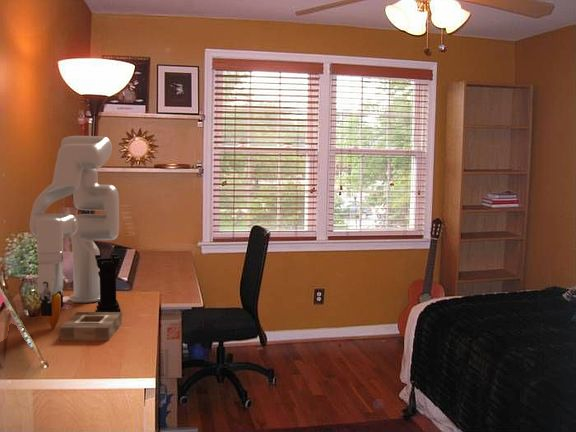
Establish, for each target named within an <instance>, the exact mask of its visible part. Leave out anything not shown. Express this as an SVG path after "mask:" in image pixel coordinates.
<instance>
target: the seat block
mask: <svg viewBox="0 0 576 432" xmlns="http://www.w3.org/2000/svg"><path fill="white" fill-rule="evenodd" d="M121 313H122V311H121V312H95V311H87V312H86V311H76V312H75V314H74V315H72V316H71V317H70V318H69V319H68V320H67V321H66V322H64V323H63V324H62V325H61V326H60V329H59V330H60V333H59V334H60V341H70V342H71V341H72V342H73V341H89V342H90V341H94V342H95V341H103V342H105V341H106V342H107V341H110V340H111V338H112V337H113V336H114V335H115V334H116V332H117V331H118V330H119V329H120V327H121V326H122V325H123V323H122V322H123V321H122V320H123V319H122V317H123V315H122V316H121Z"/></svg>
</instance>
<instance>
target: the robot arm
mask: <svg viewBox="0 0 576 432" xmlns="http://www.w3.org/2000/svg"><path fill="white" fill-rule="evenodd" d="M60 142H61V144H60V146H61V147H59V149H58V151H57V157H56V161H55V162H56V163H55V165H54V166H55V167H54V172H53V177H52V182H51V183H50V185H48V186H47V187H46V188H44V190H43V191H41V192H40V194H38V196H37V197H36V199H35V200H34V201H33V204H32V207H31V214H30V217H29V218H30V219H29V229H30V233H31V234H32V235H33V236H34V237H36V249H37V250H36V251H37V252H36V253H37V263H38V267H37V295H38V296H39V300H40V301H39V302H40V316H42V317H46V316H52V303H51V298H52V295H54V294H56V293H59V294H60V295H61V308H63V307H64V290H63V289H64V272H63V271H64V269H63V263H64V261H65V260H64V259H65V258H64V257H65V254H64V238H70V239H71V249H72V275H73V278H72V280H73V281H72V282H73V283H72V285H73V294H71V295H69V297H68V298H69V301H70V302H72V303H75V304H76V303H77V304H79V303H80V304H89V303H94V302H96V303H98V301H100V277H99V274H98V272H99V271H100V270H99V268H98V266H97V261H96V259H95V255H100V256H101V253H100V252H101V251H100V249H99V247H98V246H97V244H96V243H95V241H114V240H116V239H117V238H118V236H119V232H120V197H119V191H118V189H117V187H115V186H114V185H112V184H99V181H98V179H99V178H98V176H99V174H98V173H99V172H98V169H100V168H102V167H103V166H104V165H105V164H106V163H107V162H108V161H109V159H110V158H111V156H112V153H113V145H112V142H111V140H110V139H109V137H106V136H101V135H96V136H95V135H70V136H66V137H64V138H62V139H61V141H60ZM71 195H72V197H73V206H74V207H75V208H76V209H77V210H80V211H99V212H100V211H102V212H103V211H104V213H103V214H100V213H99V214H98V213H97V214H95V213H79V214H76V215H73V214H70V213H47V212H46V210H47V209H48V208H49V207H50V206H51V205H52V204H54V203H55V202H57V201H59V200H62V199H63V198H64V199H65V198H66V197H70V196H71ZM45 212H46V213H45ZM47 296H49V297H48V298H47Z"/></svg>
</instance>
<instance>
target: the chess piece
mask: <svg viewBox="0 0 576 432" xmlns="http://www.w3.org/2000/svg"><path fill="white" fill-rule="evenodd" d="M95 259H96V261H97V266H98V268H99V270H100V271H99V272H98V274H99V277H100V301H97V305H96V307H95V308H96V309H94V312H121V316H122V317H123V312H122V311H121V307H120V303H119V300H118V299H117V280H116V279H117V277H118V273H117V271H116V269H117V268H118V267H119V262H120V256H118V254H117V253H112V255H111V257H103V258H102V257H101V254H100V255H95Z"/></svg>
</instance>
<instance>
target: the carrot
mask: <svg viewBox="0 0 576 432" xmlns="http://www.w3.org/2000/svg"><path fill="white" fill-rule="evenodd" d="M48 297H49V296H47V298H48ZM51 303H52V316H45V317H46V320H47V322H48V324H49V326H50V328H51V329H55V328H56V326H57V325H58V322H59V319H60V314H61V308H62V307H61V295H60V294H59V293H56V294H54V295H52V298H51Z"/></svg>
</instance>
